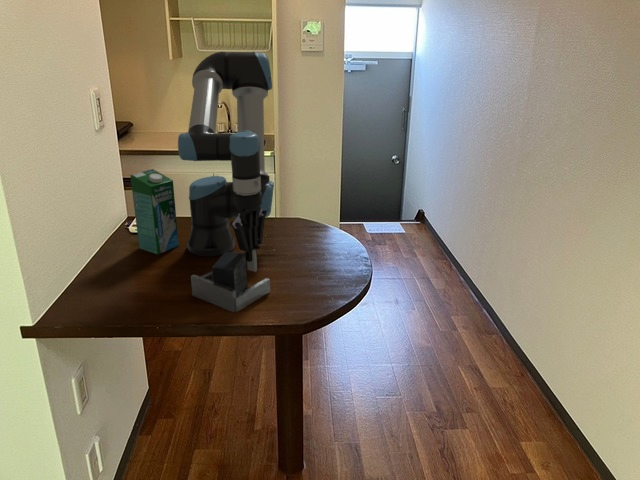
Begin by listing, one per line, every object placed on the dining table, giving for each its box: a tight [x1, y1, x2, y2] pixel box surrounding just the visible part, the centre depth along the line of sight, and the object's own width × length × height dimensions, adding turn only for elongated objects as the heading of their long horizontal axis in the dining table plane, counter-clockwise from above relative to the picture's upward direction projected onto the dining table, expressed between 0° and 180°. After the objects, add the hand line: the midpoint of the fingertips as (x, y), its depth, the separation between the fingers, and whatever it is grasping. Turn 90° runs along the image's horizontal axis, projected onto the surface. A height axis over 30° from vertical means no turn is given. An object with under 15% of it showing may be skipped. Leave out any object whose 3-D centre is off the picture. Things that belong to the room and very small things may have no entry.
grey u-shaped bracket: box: [190, 270, 271, 313], centre depth 145 cm, size 16×14×6 cm
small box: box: [211, 251, 248, 295], centre depth 144 cm, size 11×6×10 cm, turn 170°
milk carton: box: [129, 168, 180, 255], centre depth 170 cm, size 9×9×25 cm
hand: (252, 269), depth 151 cm, fingers closed
